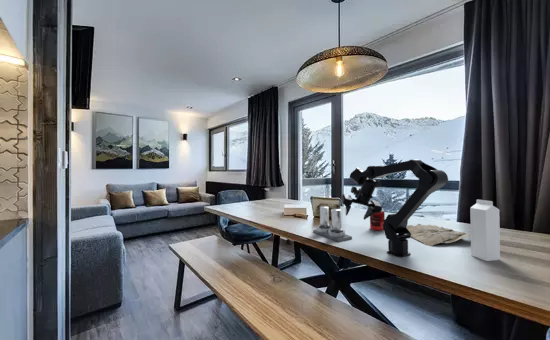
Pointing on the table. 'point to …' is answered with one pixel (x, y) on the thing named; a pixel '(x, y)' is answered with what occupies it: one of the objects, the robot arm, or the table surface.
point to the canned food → (377, 221)
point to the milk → (485, 231)
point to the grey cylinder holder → (329, 227)
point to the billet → (336, 221)
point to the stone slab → (435, 234)
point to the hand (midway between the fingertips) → (355, 216)
